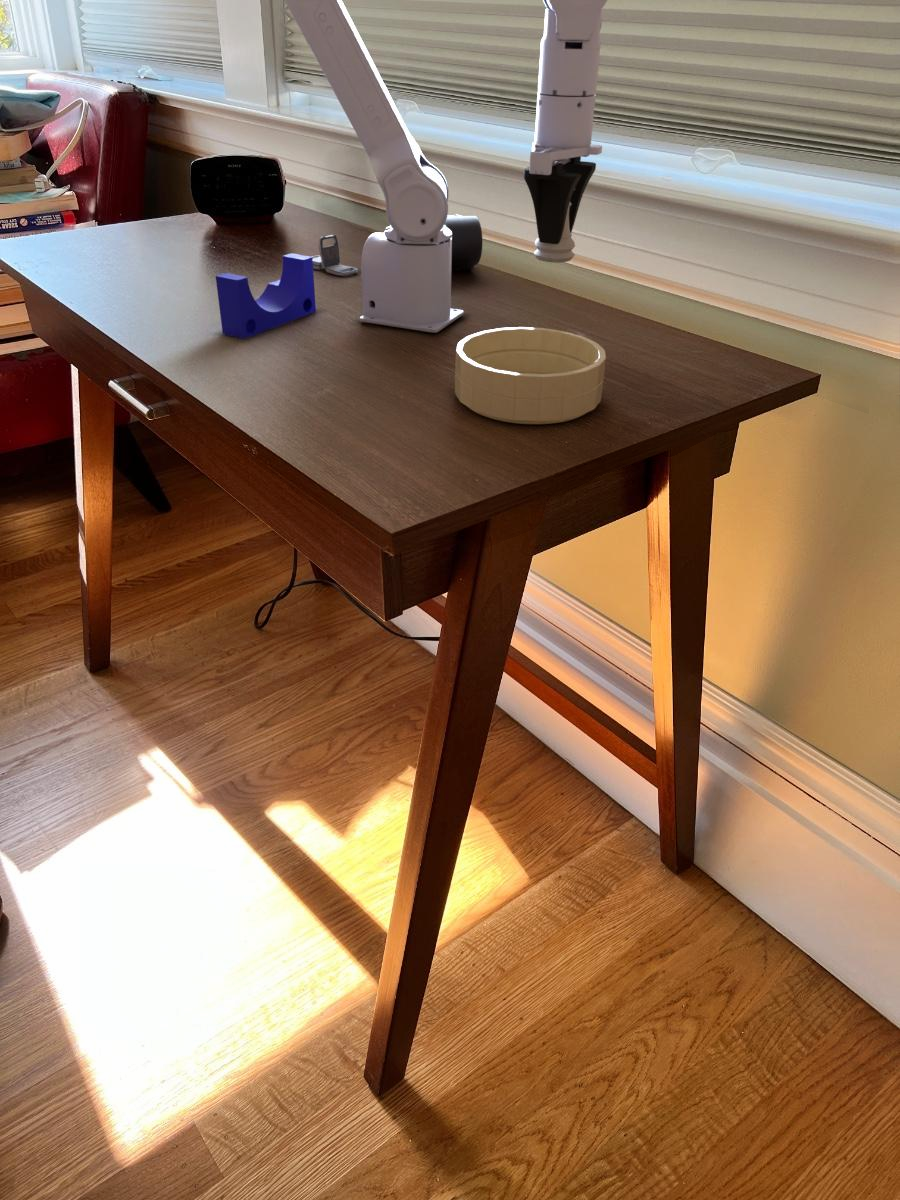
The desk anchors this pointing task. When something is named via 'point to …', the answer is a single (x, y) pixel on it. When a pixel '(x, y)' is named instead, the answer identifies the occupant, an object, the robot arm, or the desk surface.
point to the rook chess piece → (557, 246)
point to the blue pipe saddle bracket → (267, 299)
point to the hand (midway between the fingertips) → (554, 239)
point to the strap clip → (331, 259)
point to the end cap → (465, 241)
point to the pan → (529, 374)
